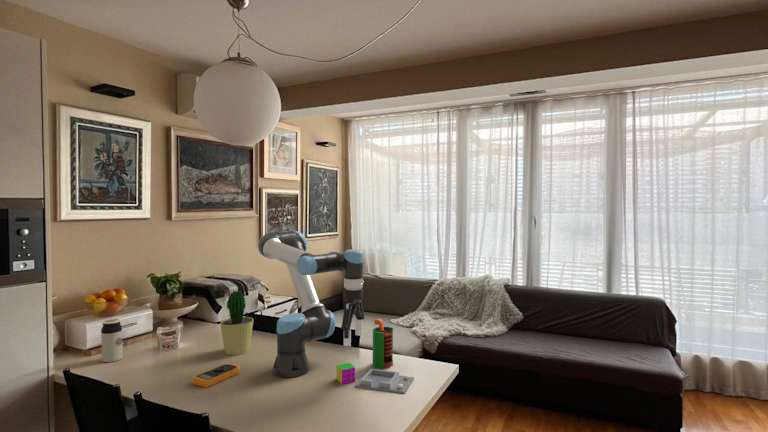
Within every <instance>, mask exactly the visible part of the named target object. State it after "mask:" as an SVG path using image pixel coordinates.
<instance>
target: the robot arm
mask: <svg viewBox="0 0 768 432" xmlns="http://www.w3.org/2000/svg"><path fill="white" fill-rule="evenodd" d="M306 238H307V237H305V235H304V234H303V233H302V232H300V231H297V230H289V231H274V232H273V231H272V232H268V233H267V232H266V234H263V235H262V236H261V237H260V239H259V240H258V243H257V248H258V249H257V251H259V252H258V253H259V254H260V255H262V257H265V258H266V259H269V260H277V261H279V262H282V263H283V264H286V268H287V270H288V273H289V276H290V278H291V281H292V282H291V283H292V284H293V287H294V290H295V294H296V297H297V299H298V303H299V305H300V308H301V311H300V312H294V313H288V314H285V315H283V316H281V317H279V318H278V320H277V322H276V329H275V330H276V346H277V348H276V350H277V351H276V352H277V353H276V356H275V359H274V360H275V361H274V363H273V368H272V373H273V375H274V376H276V377H280V378H295V377H300V376H303V375H305V374H308V372H309V371H310V362H309V359H308V355H307V354H306V344H308V343H310V342H315V341H318V340H319V341H320V340H324V339H325V338H328V337H330V336H332V335H333V333H334V331H335V327H336V318H335V315H334V313H333V312H332V311H330V310H329V309H327V308H326V305H324V304H323V303H321V302H320V299H319V297H318V294H317V291H316V288H315V285H314V282H313V279H312V275H317V274H324V273H325V274H326V273H331V272H332V273H333V272H342V273H343V275H344V279H343V288H344V290H343V297H344V299H346V300H347V303H344V306H343V307H344V311H343V315H342V321H341V327H340V330H342V331H343V347H351V346H352V344H351V343H352V329H351V325H352V322H353V317H354V316H355V318H356V319H355V326H354V327H355V329H354V331H355V332H354V333H355V336H358V337H359V336H360V337H362V336H363V320H365V313H364V306H363V302H362V301H363V296H364V290H363V286H364V285H363V284H364V282H365V281H364V253H363V251H362V250H361V249H346V250H344V252H338V251H329V252H328V253H323V254H312V253H310V252H308V251H307V249H308V242H307V239H306Z"/></svg>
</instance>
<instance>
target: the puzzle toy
mask: <svg viewBox="0 0 768 432" xmlns="http://www.w3.org/2000/svg"><path fill="white" fill-rule="evenodd" d="M335 370H336V380H337V381H338V382H339V383H340V384H341V385H344V384H348V383H353V382H356V367H355V366H354V365H353V364H352V363H351V362H347V363H341V364H336V369H335Z"/></svg>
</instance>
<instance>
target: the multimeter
mask: <svg viewBox="0 0 768 432" xmlns="http://www.w3.org/2000/svg"><path fill="white" fill-rule="evenodd" d="M239 373H240V365H238V364H234V363H229V362H228V363H224V364H221V365H219V366H216V367H214V368H211V369H210V370H207V371H205V372H202V373H200V374H196V375H193V377H192V384H193V385H195V386H197V387H201V388H206V389H207V388H209V387H212V386H214V385H215V384H218V383H220V382H221V381H225V380H227V379H228V378H232V377H234V376H236V374H237V375H238V374H239ZM231 376H232V377H231Z"/></svg>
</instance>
